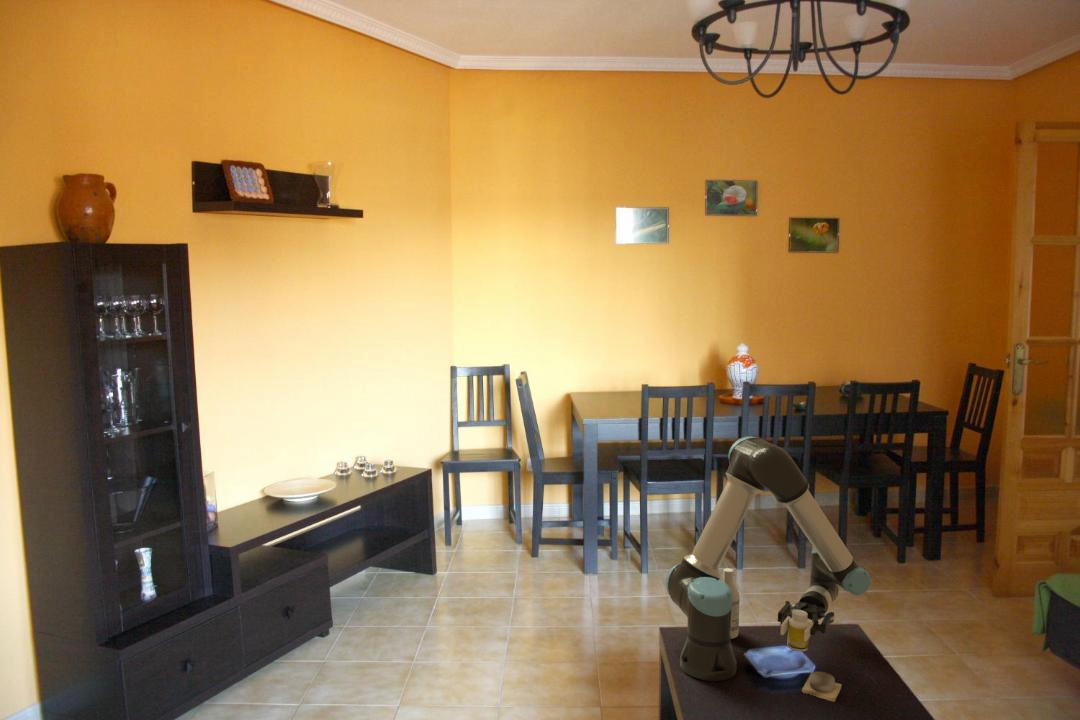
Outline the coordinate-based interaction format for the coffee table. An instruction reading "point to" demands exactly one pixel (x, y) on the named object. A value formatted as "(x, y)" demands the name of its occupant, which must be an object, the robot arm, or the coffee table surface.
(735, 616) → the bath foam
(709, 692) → the coffee table surface
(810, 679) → the boss
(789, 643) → the supplement bottle
